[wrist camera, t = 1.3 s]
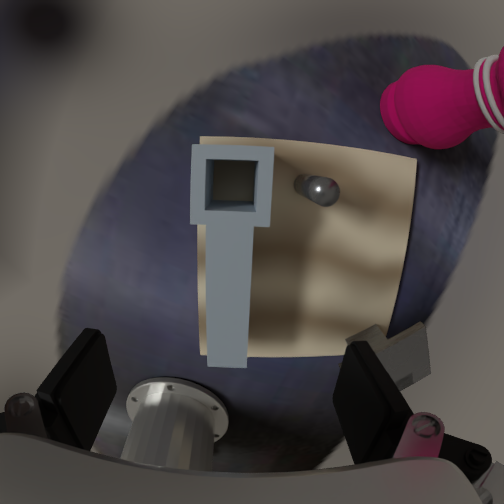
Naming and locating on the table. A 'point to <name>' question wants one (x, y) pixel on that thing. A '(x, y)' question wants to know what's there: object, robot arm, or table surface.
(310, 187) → the post
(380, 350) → the block
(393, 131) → the pepper mill
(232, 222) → the link
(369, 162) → the base board
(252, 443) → the table surface
